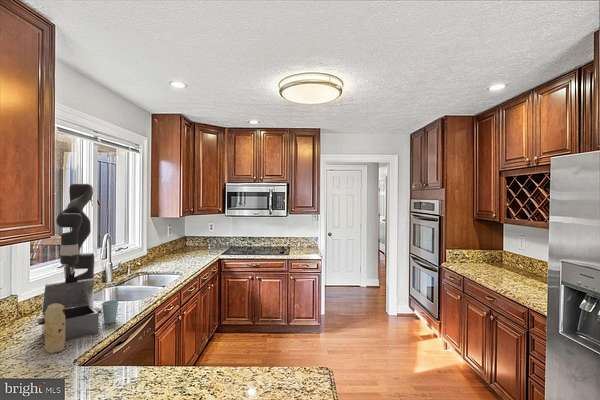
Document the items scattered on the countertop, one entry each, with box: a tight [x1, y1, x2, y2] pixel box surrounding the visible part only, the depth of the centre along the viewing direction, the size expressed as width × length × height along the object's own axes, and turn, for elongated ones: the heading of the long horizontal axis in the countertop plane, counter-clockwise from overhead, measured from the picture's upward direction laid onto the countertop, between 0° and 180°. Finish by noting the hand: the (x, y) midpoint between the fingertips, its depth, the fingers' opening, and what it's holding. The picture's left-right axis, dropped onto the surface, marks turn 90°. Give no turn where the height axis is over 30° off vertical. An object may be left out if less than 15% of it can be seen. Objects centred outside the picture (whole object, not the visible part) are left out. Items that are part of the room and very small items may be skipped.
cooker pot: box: [36, 305, 103, 342], centre depth 171 cm, size 18×26×10 cm
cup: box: [101, 299, 119, 324], centre depth 188 cm, size 8×8×10 cm
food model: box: [44, 303, 66, 354], centre depth 152 cm, size 10×7×20 cm
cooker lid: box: [41, 275, 96, 314], centre depth 174 cm, size 21×20×2 cm
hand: (69, 288), depth 174 cm, fingers closed
